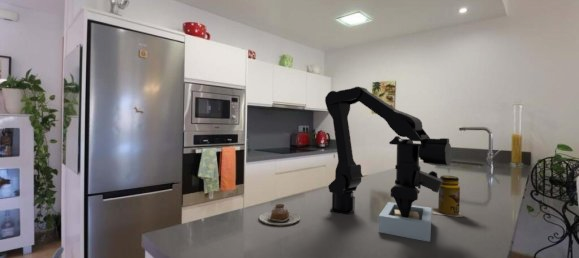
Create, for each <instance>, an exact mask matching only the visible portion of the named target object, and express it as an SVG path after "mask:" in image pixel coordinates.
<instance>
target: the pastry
mask: <svg viewBox="0 0 579 258" xmlns="http://www.w3.org/2000/svg"><path fill="white" fill-rule="evenodd" d="M267 218H268V220H270V221H271V222H269V221H267ZM290 218H291V219H292V220H291V221H290V222H287V221H288V220H289V219H290ZM258 219H259V221H260V222H262V223H264V224H265V225H270V226H271V225H272V226H276V227H277V226H278V227H281V226H290V225H291V226H292V225H293V224H294V223H297V222H299V221H300V220H301V216H300V215H299V214H297V213H295V212H293V211H292V212H291V211H289V209H288V208H287V207H285V204H283V203H277V204H275V206H274V207H273V208H272V209H271V211H268V212H267V211H266V212H263V213H261V214H260V215H259V217H258ZM275 222H276V223H275ZM284 222H285V223H284Z"/></svg>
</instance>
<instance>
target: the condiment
mask: <svg viewBox="0 0 579 258" xmlns="http://www.w3.org/2000/svg"><path fill="white" fill-rule="evenodd" d="M440 178H441V179H442V181H443V182H442V184H441V186H440V189H439V191H438V202H437V203H438V207H437V208H436V207H430V206H429V208H431V214H433V215H443V216H449V217H458V218H464V215H462V214H461V213H460V208H461V207H460V206H461V205H460V204H461V203H460V201H461V197H460V195H461V190H460V189H461V187H460V185H459V184H460V183H459V177H458V176H454V175H440Z"/></svg>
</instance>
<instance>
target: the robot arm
mask: <svg viewBox="0 0 579 258" xmlns="http://www.w3.org/2000/svg"><path fill="white" fill-rule="evenodd" d="M324 97H325V99H324V102H325V106H326V110H327V112H328V114H329V115H330V117H331V118H332V122H333V130H334V139H335V145H336V146H335V147H336V152H337V153H336V155H337V159H338V160H337V165H336V167H335V174H334V176H335V178H334V179H333V181H331V182H330V183H329V184H328V190H329V191H328V192H329V193H332V195H331V201H332V202H331V208H330V212H335V213H341V214H352V213H353V211H354V210H355V209H356V208H355V207H356V205H355V204H356V197H355V196H354V192H356V191H357V188H358V186H359V185H360V184H361V182H362V178H363V177H364V176H363V174H362V166H361V164H356V161H355V160H354V156H353V155H354V154H353V148H352V147H353V146H352V142H351V135H350V134H351V132H350V127H349V126H350V125H349V120H348V119H349V118H348V117H349V114H350V111H351V105H354V104H357V103H361V104H362V105H364V106H365V107H367V109H369V110H370V111H372V112H374V113H375V114H376V115H377V116H379V117H380V118H382V119H383V120H384V121H386V124H387V125H388V127H389V128H391V130H392V131H393V132H394V133H395V134H396V136H394V137H393V138H392V139H391V140H390V141H389V142H388V144H389V145H396V163H395V172H396V173H395V174H396V175H395V181H394V185H392V187H391V189H390V198H393V199H394V201H395V203H396V204H397V206H398V208H399V211H400V213H401V215H402V217H405V218H408V217H409V213H410V211H411V206H412V205H413V203H414V202H415V201H417V200H419V194H420V192H421V190H419V189H421V188H422V187H424V188H426V189H429V190H431V191H432V192H434V193H437V194H439V189H440V186H441V184H442V182H443V181H442V179H441V178H439V177H438V172H436V171H434V170H431V171H429V172H427V171H426V172H425V171H421V165H420V160H421V161H422V162H423V164H430V165H438V166H439V165H441V166H450V164H451V162H452V158H453V151H452V146H451V144H450V138H449V137H448V138H442V137H441V138H430V136H429V135H428V134H427V133H426V131H425V130H424V128H423V123H422V121H421V119H420V118H419V117H416V116H414V115H412V114H409V113H407V112H403V111H401V110H398V109H396V108H395V107H393V106H391V105H390V104H388V103H387V102H385V101H384V100H383V99H381V98H380V97H378V96H376V95H375V94H373V93H372V92H370V91H369V90H368V89H367V88H365V87H363V86H355V87H354V86H353V87H351V88H348V89H342V90H341V89H340V90H338V91H337V90H331V91H329V92H328V93H327V95H326V96H324ZM401 137H402V138H401ZM414 142H415V143H414ZM417 142H418V143H417ZM419 142H420V143H419Z"/></svg>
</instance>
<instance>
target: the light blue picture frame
mask: <svg viewBox="0 0 579 258" xmlns="http://www.w3.org/2000/svg"><path fill="white" fill-rule="evenodd" d="M429 207H430V206H429ZM429 207H427V206H419V205H413V204H412V206H411V211H413V212H418V214H419V220H418V219H411V218H405V217H398V216H394V215H395V210H399V208H398V206H397V204H396V202H393V201H387V203H386V205H385V206H384V208H383V209H382V211H380V213H379V215H378V233H381V234H386V235H392V236H398V237H403V238H408V239H413V240H418V241H419V240H420V241H424V242H429V243H430V242H431V234H432V233H431V231H432V211H431V208H432V207H430V208H429Z"/></svg>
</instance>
